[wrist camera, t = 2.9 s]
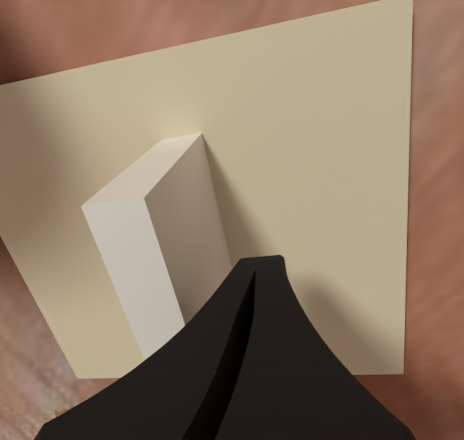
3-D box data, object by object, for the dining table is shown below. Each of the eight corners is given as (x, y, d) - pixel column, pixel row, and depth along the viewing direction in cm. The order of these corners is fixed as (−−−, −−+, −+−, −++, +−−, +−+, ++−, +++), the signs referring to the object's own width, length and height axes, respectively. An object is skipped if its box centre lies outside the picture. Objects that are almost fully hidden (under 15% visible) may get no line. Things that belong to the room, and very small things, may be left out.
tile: (201, 133, 13) (143, 198, 8) (240, 301, 17) (217, 425, 11) (158, 140, 14) (75, 206, 8) (204, 303, 17) (166, 424, 12)
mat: (407, -5, 11) (412, -7, 10) (399, 364, 18) (403, 374, 17) (-60, 99, 15) (-73, 101, 14) (82, 370, 22) (77, 378, 21)
